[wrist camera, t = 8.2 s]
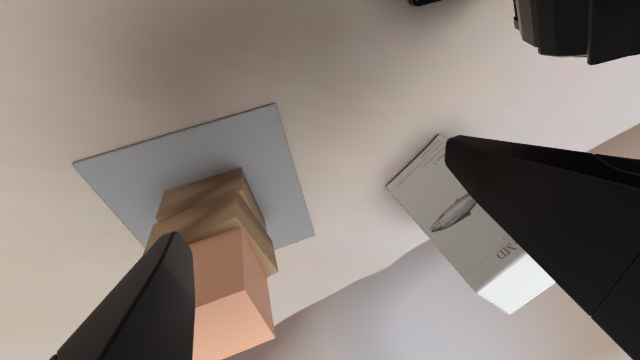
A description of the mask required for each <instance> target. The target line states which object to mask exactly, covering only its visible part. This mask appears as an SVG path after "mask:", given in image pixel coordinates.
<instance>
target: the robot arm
mask: <svg viewBox="0 0 640 360" xmlns="http://www.w3.org/2000/svg"><path fill="white" fill-rule="evenodd" d="M437 1H441V0H418V1H416V0H409V3H410V4H411V5H412V6H422V5H426V4H429V3H433V2H437ZM513 2H514V9H515V17H514V25H515V28H516V29H518V30H520V33H521V36H522V39H523V40H524V41H525V42H527V43H529V44H531V45H532V46H534V47H538V53H539V54H541V55H546V56H554V57H587V63H588V64H589V65H595V64H600V63H603V62H607V61H611V60H615V59H619V58H622V57H626V56H632V55H638V54H640V0H513ZM444 161H445V164H446V166H447V168H448V169H449V170H450V171H451V173H452V174H453V175H454V176H455V178H456V179H457V180H458V181H459V183H460V184H461V185H462V186H463V188H464V189H465V190H466V191H467V193H468V194H469V195H470V196H471V197H472V198H473V199H474V201H475V202H476V203H477V204H478V205H479V206H480V207H481V208H482V209H483V210H484V211H485V212H486V213H487V214H488V215H489V216H490V217H491V218H492V219H493V220H494V221H495V222H496V223H497V224H498V225H499V226H500V227H501V228H502V229H503V230H504V231H505V232H506V233H507V234H508V235H509V236H510V237H511V238H512V239H513V240H514V241H515V242H516V243H517V244H518V245H519V246H520V247H521V248H522V249H523V250H524V251H525V252H526V253H527V254H528V255H529V256H530V257H531V258H532V259H533V260H534V261H535V262H536V263H537V264H538V265H539V266H540V267H541V268H542V269H543V270H544V271H545V272H546V273H547V274H548V275H549V276H550V277H551V278H552V279H553V280H554V281H555V282H556V283H557V284H558V285H559V286H560V287H561V288H562V289H563V290H564V291H565V292H566V293H567V294H568V295H569V296H570V297H571V298H572V299H573V300H574V301H575V302H576V303H577V304H578V305H579V306H580V307H581V308H582V309H583V310H584V311H585V312H586V313H587V314H588V315H589V316H591V318H592V319H593V320H594V321H595V322H596V323H597V324H598V325H599V326H600V327H601V328H602V329H603V330H604V331H605V332H606V333H607V334H608V335H609V336H610V337H611V338H612V339H613V340H614V341H615V342H616V343H617V344H618V345H619V346H620V347H621V348H622V349H623V350H624V351H625V352H626V353H627V354H628V355H629V356H630V357H631V358H632V359H633V360H640V160H639V159H631V158H623V157H615V156H608V155H601V154H595V155H594V154H592V153H586V152H579V151H571V150H564V149H557V148H550V147H542V146H535V145H528V144H521V143H513V142H506V141H499V140H492V139H484V138H477V137H470V136H463V135H458V136H455V137H452V138H449V139H448V140H447V141H446V146H445V158H444ZM195 302H196V300H195V282H194V267H193V254H192V251H191V248H190V247H189V246H188V244H187V243H186V241H185V240H184V239H183V237H182V236H181V234H180V233H179V232H177V231H172V232H169V233H166V234H163V235H162V236H160V237H159V239H158V240H157V241H156V242H155V243H154V244H153V245H152V246H151V247H150V249H149V250H148V251H147V252H146V253H145V254H144V255H143V256H142V257H141V259H140V260H139V261H138V262H137V263H136V264H135V265H134V266H133V267H132V269H131V270H130V271H129V272H128V273H127V274H126V275H125V276H124V277H123V279H122V280H121V281H120V282H119V283H118V284H117V285H116V286H115V287H114V289H113V290H112V291H111V292H110V293H109V294H108V295H107V296H106V297H105V299H104V300H103V301H102V302H101V303H100V304H99V305H98V306H97V307H96V309H95V310H94V311H93V312H92V313H91V314H90V315H89V316H88V317H87V319H86V320H85V321H84V322H83V323H82V324H81V325H80V326H79V327H78V329H77V330H76V331H75V332H74V333H73V334H72V335H71V336H70V337H69V339H68V340H67V341H66V342H65V343H64V344H63V345H62V346H61V347H60V349H59V350H58V351H57V354H55V355H53V356H52V357H51V358H50V360H192V358H193V340H194V323H195Z"/></svg>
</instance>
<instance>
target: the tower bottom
mask: <svg viewBox="0 0 640 360" xmlns="http://www.w3.org/2000/svg"><path fill="white" fill-rule="evenodd" d="M234 187H235V188H236V190H237V191H238V193H239V194H240V195H241V197H242V198H243V200H244V201H245V202H246V204H247V205H248V207H249V208H250V210H251V211H252V212H253V214H254V215H255V217H256V218H257V220H258V221H259V222H260V224H261V225H262V227H263V228H264V230H265V231H266V232H267V230H266V224H265V220H264V218H263V215H262V213H261V211H260V209H259V206H258V204H257V202H256V199H255V197H254V195H253V193H252V190H251V188H250V186H249V184H248V181H247V179H246V177H245V175H244V172H243V170H242V168H241V167H240V168H237V169H234V170H231V171H228V172H224V173H221V174H218V175H215V176H212V177H209V178H206V179H202V180H199V181H196V182H193V183H190V184H187V185H184V186H180V187H177V188H174V189H171V190H168V191H165V192H164V195H163V197H162V200H161V203H160V206H159V209H158V212H157V215H156V220H157V221H158V222H161V221H163V220H165V219H167V218H169V217H171V216H174V215H176V214H178V213H180V212H182V211H184V210H186V209H189V208H191V207H193V206H195V205H197V204H199V203H202V202H204V201H206V200H208V199H210V198H212V197H215V196H217V195H219V194H221V193H223V192H225V191H228V190H230V189H232V188H234Z"/></svg>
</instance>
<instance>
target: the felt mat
mask: <svg viewBox="0 0 640 360" xmlns="http://www.w3.org/2000/svg"><path fill="white" fill-rule="evenodd" d="M71 165H72V166H73V167H74V168H75V169H76V170H77V171H78V173H79V174H80V175H81V176H82V177H83V178H84V179H85V181H86V182H87V183H88V184H89V185H90V186H91V187H92V189H93V190H94V191H95V192H96V193H97V194H98V195H99V196H100V198H101V199H102V200H103V201H104V202H105V203H106V204H107V206H108V207H109V208H110V209H111V210H112V211H113V212H114V214H115V215H116V216H117V217H118V218H119V219H120V220H121V222H122V223H123V224H124V225H125V226H126V227H127V228H128V230H129V231H130V232H131V233H132V234H133V235H134V236H135V238H136V239H137V240H138V241H139V242H140V243H141V244H142V245H143V247H144V248H146V245H147V242H148V239H149V236H150V233H151V230H152V227H153V225H154V224H156V223H158V221H157V220H156V215H157V212H158V209H159V206H160V203H161V200H162V197H163V195H164V192H165V191H168V190H171V189H174V188H177V187H180V186H184V185H187V184H190V183H193V182H196V181H199V180H202V179H206V178H209V177H212V176H215V175H218V174H221V173H224V172H228V171H231V170H234V169H237V168H240V167H241V168H242V170H243V172H244V175H245V177H246V179H247V181H248V184H249V186H250V188H251V190H252V193H253V195H254V197H255V199H256V202H257V204H258V206H259V209H260V211H261V213H262V215H263V218H264V220H265V224H266V230H267V234H268V235H269V237H270V238H271V240H272V242H273V247H274V250H276V249H279V248H281V247H284V246H287V245H290V244H293V243H295V242H298V241H301V240H304V239H306V238H309V237H312V236H315V234H314V230H313V227H312V224H311V220H310V217H309V214H308V211H307V207H306V204H305V201H304V197H303V194H302V191H301V188H300V184H299V181H298V178H297V174H296V171H295V168H294V164H293V161H292V158H291V155H290V151H289V148H288V145H287V141H286V138H285V135H284V131H283V128H282V125H281V122H280V118H279V115H278V112H277V108H276V105H275V103H274V104H270V105H267V106H264V107H260V108H257V109H253V110H250V111H247V112H243V113H240V114H236V115H233V116H230V117H226V118H223V119H219V120H216V121H213V122H209V123H206V124H202V125H199V126H196V127H192V128H189V129H185V130H182V131H179V132H175V133H172V134H168V135H165V136H162V137H158V138H155V139H151V140H148V141H145V142H141V143H138V144H134V145H131V146H128V147H124V148H121V149H117V150H114V151H111V152H107V153H104V154H100V155H97V156H94V157H90V158H87V159H83V160H80V161H77V162H73V163H72V164H71Z"/></svg>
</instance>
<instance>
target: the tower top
mask: <svg viewBox="0 0 640 360" xmlns="http://www.w3.org/2000/svg"><path fill="white" fill-rule="evenodd" d="M238 227H241V228H242V230H243V232H244V234H245V236H246V238H247V239H248V241H249V243H250V245H251V247H252V249H253V251H254V253H255V255H256V257H257V259H258V261H259V262H260V264H261V266H262V268H263V270H264V272H265V274H266V277H269V276H271V275H273V274H275V273H277V272H278V268H277V263H276V258H275V253H274V247H273V242H272V240H271V238H270V237H269V235H268V234H267V232H266V231H265V230H264V228H263V227H262V225H261V224H260V222H259V221H258V220H257V218H256V217H255V215H254V214H253V212H252V211H251V210H250V208H249V207H248V205H247V204H246V202H245V201H244V200H243V198H242V197H241V195H240V194H239V193H238V191H237V190H236V188H235V187H234V188H232V189H230V190H228V191H225V192H223V193H221V194H219V195H217V196H215V197H212V198H210V199H208V200H206V201H204V202H202V203H199V204H197V205H195V206H193V207H191V208H189V209H186V210H184V211H182V212H180V213H178V214H176V215H174V216H171V217H169V218H167V219H165V220H163V221H161V222H158V223H156V224H154V225H153V227H152V230H151V233H150V236H149V239H148V242H147V245H146V248H145V251H144V254H145V253H146V252H147V251H148V250H149V249H150V247H151V246H152V245H153V244H154V243H155V242H156V241H157V240H158V239H159V237H160V236H162V235H163V234H166V233H169V232H172V231H177V232H179V233H180V234H181V236H182V237H183V239H184V240H185V241H186V243H187V244H188V245H189V244H192V243H195V242H198V241H201V240H203V239H206V238H209V237H212V236H215V235H218V234H221V233H224V232H227V231H230V230H233V229H235V228H238ZM144 254H143V255H144Z"/></svg>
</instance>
